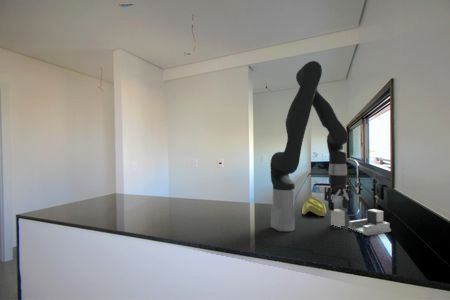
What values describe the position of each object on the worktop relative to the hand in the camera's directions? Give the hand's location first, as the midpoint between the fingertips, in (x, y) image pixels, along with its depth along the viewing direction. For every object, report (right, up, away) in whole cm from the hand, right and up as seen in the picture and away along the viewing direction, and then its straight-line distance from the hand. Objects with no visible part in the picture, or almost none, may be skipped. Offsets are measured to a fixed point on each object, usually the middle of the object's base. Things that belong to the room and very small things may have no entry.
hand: (338, 209), depth 105 cm
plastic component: (-2, -8, +22) cm, 24 cm away
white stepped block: (+10, -7, -6) cm, 14 cm away
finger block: (-1, -7, -1) cm, 7 cm away
